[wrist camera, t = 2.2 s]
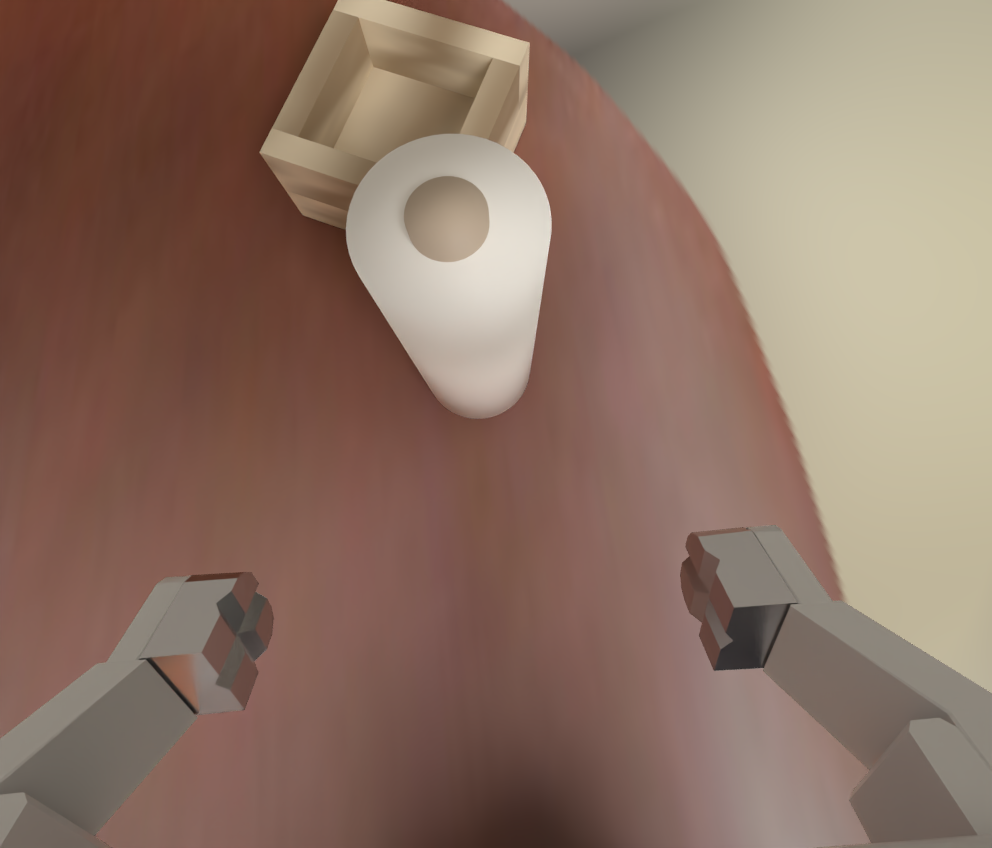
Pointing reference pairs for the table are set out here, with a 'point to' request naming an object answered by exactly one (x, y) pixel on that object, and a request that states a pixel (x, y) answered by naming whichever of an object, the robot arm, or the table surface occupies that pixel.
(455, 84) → the open wooden box
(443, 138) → the paper roll
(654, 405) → the table surface
